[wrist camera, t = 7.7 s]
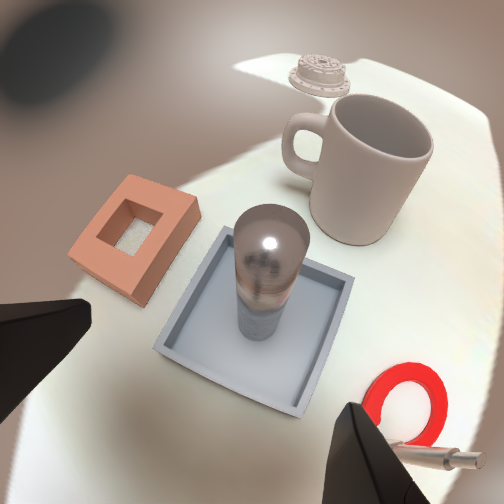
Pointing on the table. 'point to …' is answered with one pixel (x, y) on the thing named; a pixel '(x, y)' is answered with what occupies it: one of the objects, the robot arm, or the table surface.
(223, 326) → the tray
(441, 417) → the tow hook
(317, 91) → the mechanical component
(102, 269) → the block
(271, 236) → the pin
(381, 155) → the mug
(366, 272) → the table surface
